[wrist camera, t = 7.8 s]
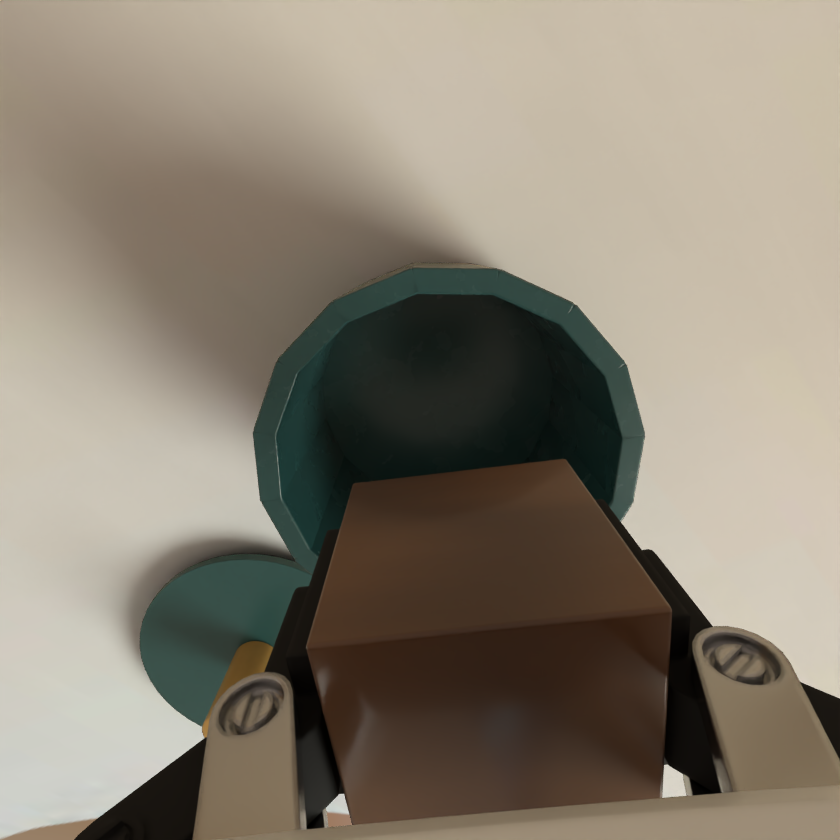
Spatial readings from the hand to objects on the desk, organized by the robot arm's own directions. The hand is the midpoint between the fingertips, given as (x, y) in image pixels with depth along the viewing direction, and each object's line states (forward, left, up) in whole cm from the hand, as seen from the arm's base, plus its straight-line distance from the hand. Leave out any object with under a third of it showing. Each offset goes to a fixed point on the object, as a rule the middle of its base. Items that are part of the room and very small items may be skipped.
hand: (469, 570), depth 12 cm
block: (0, 0, 0) cm, 0 cm away
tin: (0, 0, -15) cm, 15 cm away
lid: (-11, -17, -15) cm, 25 cm away
